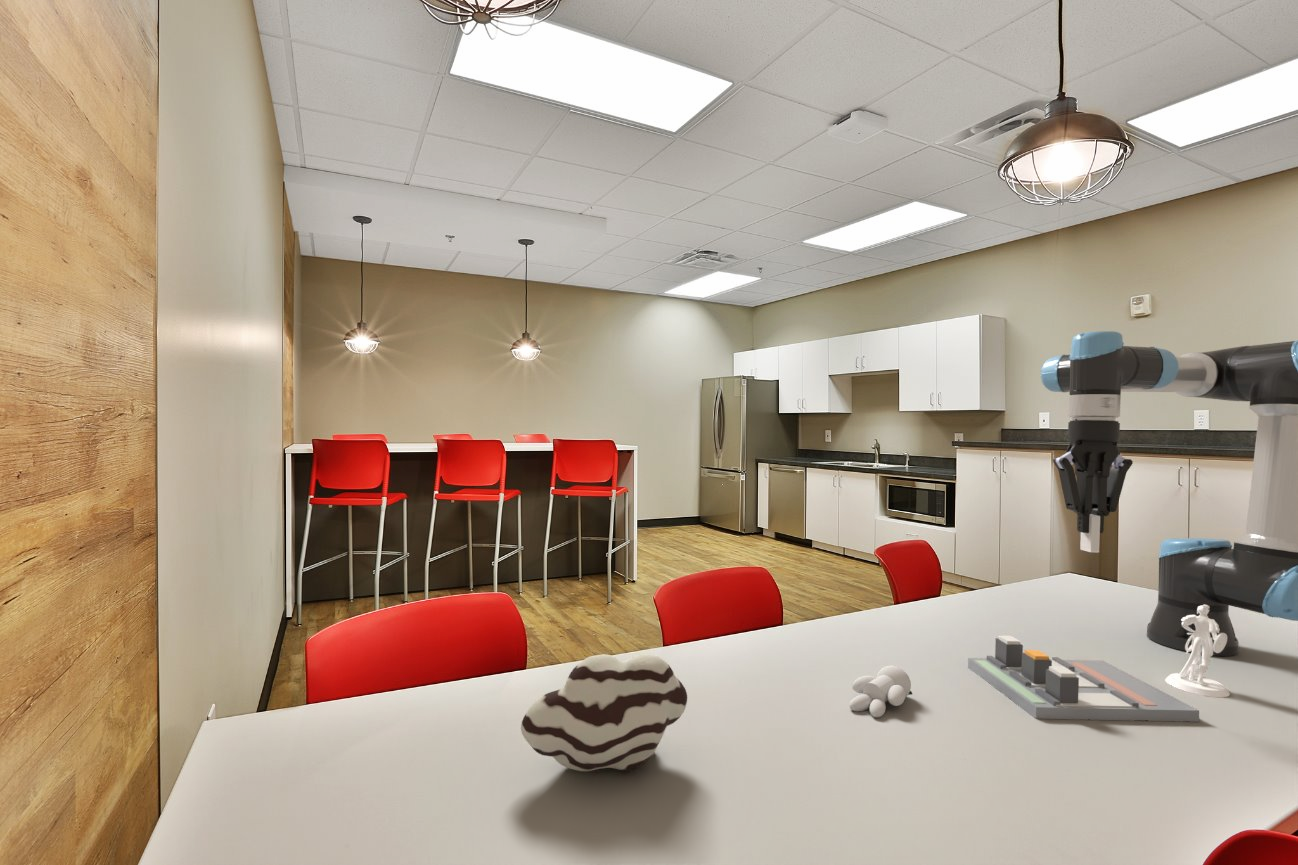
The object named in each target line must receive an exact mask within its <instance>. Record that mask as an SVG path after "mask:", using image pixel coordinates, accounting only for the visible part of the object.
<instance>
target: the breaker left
mask: <svg viewBox="0 0 1298 865" xmlns="http://www.w3.org/2000/svg"><path fill="white" fill-rule="evenodd" d="M994 646H995V650H994V651H995V653H994V654H995V655H994V658H996V659H997V660H999V661H1000V662H1002V663H1003V664H1005V665H1006V666H1010V667H1022V653H1024V652H1023V650H1024V649H1023V648H1024V646H1023V644H1021V640H1019V639H1017V638H1016V637H1013V636H1012V635H998V637H996V638H995V645H994Z"/></svg>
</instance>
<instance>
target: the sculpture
mask: <svg viewBox="0 0 1298 865" xmlns="http://www.w3.org/2000/svg"><path fill="white" fill-rule="evenodd" d="M687 704H688V693H687V690H686V687H685V686H684V684H683V683H682V682H681V681H680V680H679V679H678V677H676V675H675V673H674V671H673V669H672V667H671V666H670V664H668V662H667V661H665V660H664V659H663V658H661V657H660V656H658V655H655V654H651V653H640V654H637V655H636V654H635V655H633V656H632V657H630V658H628V659H626V660H620V659H618V658H617V657H616V656H613V655H610V654H604V653H603V654H596V655H590V656H588V657H586V658H584V659H583V660H582V661H581V662H580V663H578V664H577V665H576V666H575V667H574V668H573V669H572V670H571V672H570V673H569V674H568V677H567V680H566V682H565V683H564V686H563V687H561V688H559V689H557V690H554V691H553V690H552V691H550V692H547V693H544V694H543V695H541V696H539V697H538V698H537V699H535V700H534V701H533V703H532V704H531V705H530V707H529V708H528V710H527V711H526V713H525V714H524V716H523V719H522V720H521V724H520V731H521V735H522V736H523V738H524V739H525V741H526V742H527V743H528V745H529V746H530V747H531V748H532V750H534V751H535V752H536V753H537V754H539V755H541V756H545V757H552V758H553V759H554V760H555V761H556V762H557V763H558V764H559V765H561V766H563V767H565V768H567V769H571V770H573V771H574V770H575V771H578V772H579V771H580V772H592V771H595V770H599V769H606V768H609V769H610V768H611V769H616V770H619V771H633V770H636V769H638V768H640V767H641V766H642V765H643V764H644V763H645V762H647V761H648V760H649V759H651V757H652V756H653V755H654V753H655V752H656V750H657V748H658V745H659V744H660V742H661V740H662V738H663V736H664V734H665V731H666V729H667V727H668V726H671V725H673V724H674V723H676V722H677V721H678V720H679V719H680V717H682V715H683V714H684V713H685V710H686V708H687Z"/></svg>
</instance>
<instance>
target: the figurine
mask: <svg viewBox="0 0 1298 865" xmlns="http://www.w3.org/2000/svg"><path fill="white" fill-rule="evenodd" d="M1209 608H1210V607H1209V606H1208V605H1203V606H1202V605H1201V606H1198V608H1197V614H1198V612H1199V614H1200V615H1199V616H1196V615H1187V616H1186V617H1183V618H1182V619H1181V621H1183V622H1182V626H1183V628H1184V629H1186V630H1188V631H1190V632H1193V633H1187V634H1188V635H1191V636H1190V638H1189V639H1188V641H1187V643H1186V645H1185V649H1186V651H1185V652H1186V653H1185V655H1188V653H1190V655H1189V658H1188V660H1187V661H1186V663H1185V664H1184V666H1183V668H1182V669H1181V670H1180V672H1179V673H1178V672H1174V673H1169V675H1168V676H1167V677H1166V678H1165V682H1166V683H1167V684H1168V685H1170V686H1171V685H1172V686H1171V687H1174V688H1175V689H1179V690H1181V691H1185V692H1187V693H1191V694H1193V695H1198V696H1204V697H1213V698H1226V697H1229V696H1230V695H1231V694H1230V692H1229V690H1228V689H1227V687H1226V686H1225V685H1224V684H1222V683H1220V682H1219V681H1216V680H1215V679H1211V678H1207V677H1204V676H1205V674H1206V672H1207V670H1209V667H1208V666H1210V663H1211V660H1210V658H1211V657H1212V656H1214V655H1213V651H1214V652H1216V653H1220V652H1221V651H1222V650H1223V649H1224V647H1225V645H1226V643H1227V635H1226V634H1225V633H1220V634H1219V635H1217V633H1219V631H1220V629H1219V628H1218V627H1219V625H1218V624H1217V623H1216V621H1215V620H1214V619H1210V618H1208V616H1207V614H1208V612H1209V610H1208V609H1209ZM1191 624H1194V625H1195V627H1196V630H1195V631H1194V630H1192V629H1191V628H1190V627H1188V625H1191ZM1216 632H1217V633H1216ZM1210 633H1212V636H1213V640H1215V641H1214V643H1213V642H1212V638H1211V636H1210ZM1192 634H1193V635H1192ZM1191 639H1192V645H1191V646H1190V647H1189V649H1188V644H1189V642H1190V640H1191ZM1190 651H1192V652H1190ZM1201 652H1202V654H1201ZM1201 658H1202V659H1201ZM1200 661H1201V664H1199V662H1200ZM1197 671H1198V674H1196V673H1197Z"/></svg>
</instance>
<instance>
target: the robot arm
mask: <svg viewBox="0 0 1298 865" xmlns="http://www.w3.org/2000/svg"><path fill="white" fill-rule="evenodd" d="M1123 339H1124V338H1123V334H1122V333H1120V332H1118V331H1115V330H1114V331H1113V330H1102V331H1098V330H1097V331H1087V332H1081V333H1077V334H1075V335H1074V336H1073V338H1072V340H1071V348H1070V354H1061V355H1058V356H1052V357H1049V358H1048V359H1047V360H1046V361H1044V363H1043V365H1042V366H1041V369H1040V379H1041V382H1042V385H1043V386H1044V387H1045V388H1046V389H1047V390H1049V391H1050V392H1053V393H1054V392H1055V393H1056V392H1057V393H1058V392H1059V393H1069V396H1068V411H1067V412H1068V416H1067V417H1069V418H1071V420H1069V422H1068V425H1067V439H1068V441H1069V445H1068V446H1067V449H1066V453H1064V454H1063V455H1061V456H1060V457H1059V456H1055V457H1054V458H1053V459H1052V462H1053V464H1054V465H1055V467H1056V469H1057V470H1058V474H1059V480H1060V484H1061V489H1062V494H1063V499H1064V503H1065V504H1064V505H1065V508H1066V509H1067V510H1069V511H1072V512H1073V513H1075V514H1076V515H1077V519H1076V520H1077V521H1076V524H1077V525H1076V530H1077V532H1079V533H1080V542H1079V543H1080V548H1079V550H1080V551H1085V552H1088V553H1095V554H1096V553H1097V554H1098V553H1100V536H1101V535H1100V534H1103V533H1104V529H1105V526H1104V525H1105V522H1104V521H1105V517H1108V516H1110V513H1115V512H1116V511H1117V508H1118V505H1119V500H1120V497H1121V494H1122V492H1123V491H1122V490H1123V486H1124V483H1125V479H1126V475H1127V472H1128V471H1129V469H1130V468H1131V467H1132V466H1133V462H1134V461H1133V460H1132V459H1131V458H1126V457H1123V455H1121V454H1120V449H1119V448H1118V445H1117V444H1118V442H1119V441H1120V433H1121V432H1120V430H1121V423H1120V422H1119V420H1116V419H1118V418H1119V417H1121V396H1122V395H1121V394H1122V392H1130V393H1131V392H1134V393H1138V392H1139V393H1141V392H1142V393H1176V394H1178V395H1180V396H1181V397H1185V398H1201V399H1211V400H1219V401H1220V400H1221V401H1229V402H1230V401H1231V402H1249V409H1250V410H1251V412H1253V413H1254V414H1256V415H1257V416H1258V418H1257V419H1258V420H1257V427H1256V429H1257V430H1256V436H1255V447H1254V456H1253V464H1252V471H1251V472H1252V474H1251V479H1250V480H1251V481H1250V490H1249V500H1248V510H1247V517H1246V526H1245V534H1243V535H1242V536H1240V537H1238V538H1236V539H1234V541H1233V545H1232V543H1231V541H1230V540H1228V539H1220V538H1197V537H1196V538H1194V537H1193V538H1192V537H1191V538H1188V537H1186V538H1185V537H1182V538H1181V537H1179V538H1178V537H1175V538H1174V537H1173V538H1172V537H1171V538H1167V539H1164V540H1163V541H1161V544H1160V547H1159V555H1158V557H1157V558H1158V587H1157V588H1158V589H1157V590H1158V591H1157V595H1158V596H1157V605H1156V606H1155V609H1154V612H1153V614H1152V616H1151V619H1150V621H1149V622H1148V623H1147V625H1146V638H1148V639H1150V640H1151V641H1153V642H1155V643H1156V644H1160V645H1163V646H1165V647H1168V648H1172V649H1175V650H1180V651H1184V652H1187V651H1186V649H1185V645H1186V643H1187V641H1188V639H1189V638H1190V636H1191V635H1188V634H1187V633H1193V632H1190V631H1188V630H1186V629H1184V628H1183V626H1182V622H1183V621H1181V619H1182V618H1183V617H1186V616H1187V615H1196V616H1199V615H1200V614H1199V612H1198V614H1197V608H1198V606H1201V605H1202V606H1203V605H1208V606H1209V607H1210V608H1209V609H1208V610H1209V612H1208V614H1207V616H1208V618H1210V619H1214V620H1215V621H1216V623H1217V624H1218V625H1219V627H1218V628H1219V629H1220V631H1219V633H1217V632H1216V633H1217V635H1219V634H1220V633H1225V634H1226V635H1227V643H1226V645H1225V647H1224V649H1223V650H1222V651H1221V652H1220V653H1216V652H1214V651H1213V655H1212V656H1216V657H1231V656H1236V655H1238V654H1239V651H1240V650H1239V648H1240V646H1239V645H1240V644H1239V639H1238V638H1237V637H1236V633H1235V629H1234V626H1233V624H1232V621H1231V618H1230V614H1229V610H1230V609H1229V606H1231V607H1234V608H1238V609H1242V610H1246V611H1250V612H1255V613H1258V614H1263V615H1266V616H1267V617H1271V618H1277V619H1283V620H1288V621H1294V622H1298V340H1291V341H1283V342H1274V343H1273V342H1272V343H1266V344H1265V343H1264V344H1255V345H1243V346H1241V345H1240V346H1236V347H1229V348H1224V349H1217V350H1211V351H1203V352H1202V351H1201V352H1188V353H1184V354H1182V355H1180V356H1176V355H1175V354H1174V353H1173V352H1171V351H1170V350H1168V349H1165V348H1159V347H1156V346H1149V347H1148V346H1130V345H1125V343H1124V342H1123ZM1073 465H1074V466H1073ZM1074 467H1075V469H1074ZM1188 627H1190V628H1191V629H1192V630H1194V631H1195V630H1196V627H1195V625H1194V624H1191V625H1188ZM1192 635H1193V634H1192ZM1210 636H1211V638H1212V642H1213V643H1214V641H1215V640H1213V636H1212V633H1210ZM1191 645H1192V639H1191V640H1190V642H1189V644H1188V649H1189V647H1190V646H1191ZM1189 653H1192V651H1190V652H1189ZM1201 655H1202V652H1201Z"/></svg>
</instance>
